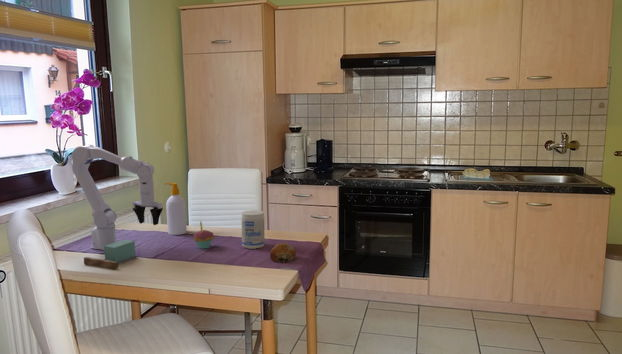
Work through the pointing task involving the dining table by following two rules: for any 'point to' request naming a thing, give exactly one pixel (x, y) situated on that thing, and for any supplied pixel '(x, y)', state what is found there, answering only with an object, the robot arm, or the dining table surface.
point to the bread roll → (282, 253)
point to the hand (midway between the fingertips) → (148, 223)
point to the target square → (125, 260)
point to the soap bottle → (176, 212)
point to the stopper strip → (101, 263)
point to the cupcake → (203, 238)
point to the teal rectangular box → (119, 250)
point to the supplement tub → (253, 229)
